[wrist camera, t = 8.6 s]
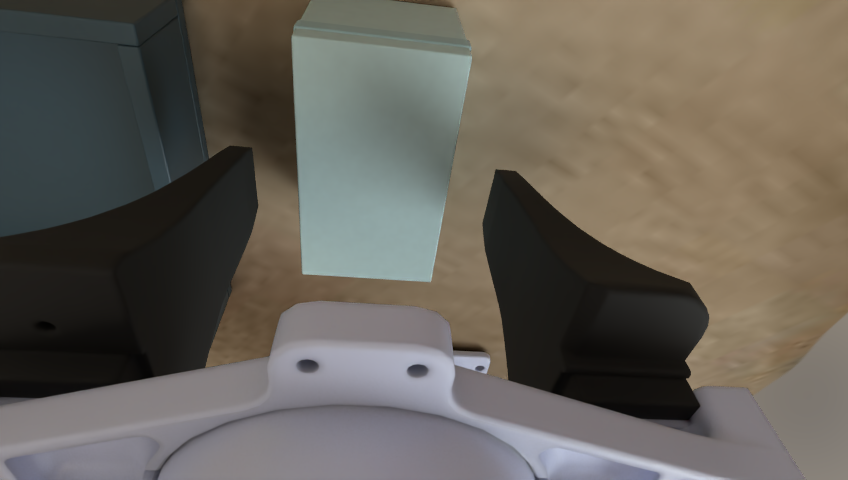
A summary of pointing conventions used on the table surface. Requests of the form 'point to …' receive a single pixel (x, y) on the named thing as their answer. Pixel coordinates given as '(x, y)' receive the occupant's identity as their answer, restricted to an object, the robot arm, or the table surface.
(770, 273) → the table surface
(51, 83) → the tray
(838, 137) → the table surface
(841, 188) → the table surface
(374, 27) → the case
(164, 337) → the robot arm
